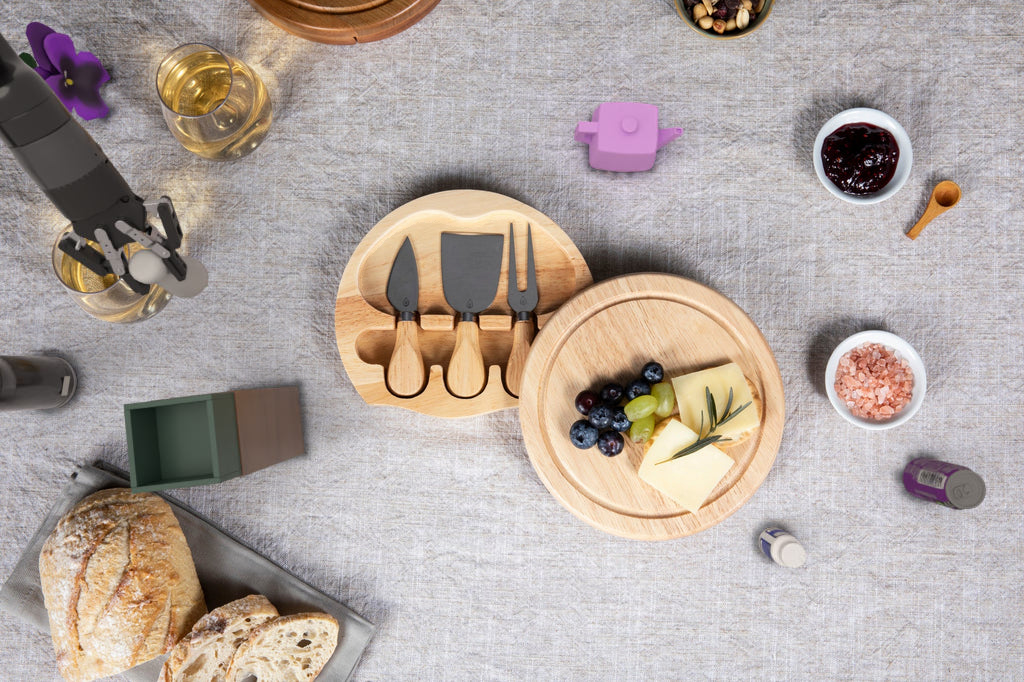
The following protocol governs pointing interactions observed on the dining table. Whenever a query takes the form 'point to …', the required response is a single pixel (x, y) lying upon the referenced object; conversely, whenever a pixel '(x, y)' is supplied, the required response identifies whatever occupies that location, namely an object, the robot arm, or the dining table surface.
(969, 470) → the beverage can
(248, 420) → the stand
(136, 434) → the bin
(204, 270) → the salt shaker
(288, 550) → the dining table surface
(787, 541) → the pill bottle
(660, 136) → the teapot
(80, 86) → the flower
